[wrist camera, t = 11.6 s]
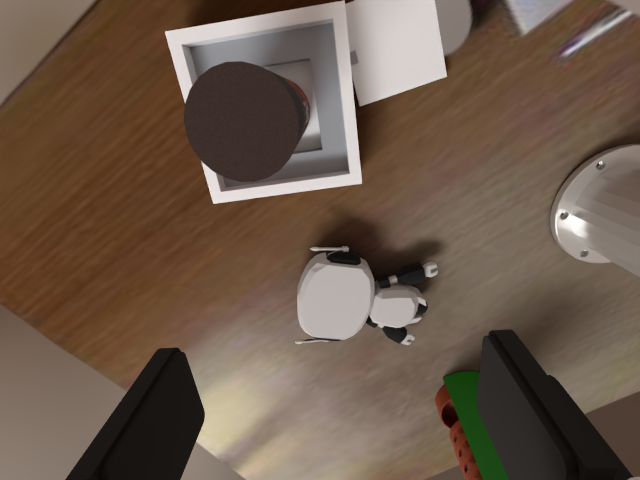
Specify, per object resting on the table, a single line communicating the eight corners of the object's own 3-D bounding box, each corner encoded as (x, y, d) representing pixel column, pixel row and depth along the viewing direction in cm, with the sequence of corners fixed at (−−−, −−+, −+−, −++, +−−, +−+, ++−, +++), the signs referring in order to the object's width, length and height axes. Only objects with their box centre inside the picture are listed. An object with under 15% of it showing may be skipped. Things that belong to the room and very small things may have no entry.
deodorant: (234, 95, 30) (160, 94, 17) (293, 65, 29) (265, 37, 16) (265, 155, 33) (221, 198, 19) (320, 129, 31) (317, 155, 18)
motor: (421, 387, 46) (486, 583, 27) (482, 358, 43) (597, 551, 25) (453, 429, 49) (531, 630, 30) (512, 405, 47) (633, 605, 28)
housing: (342, 12, 28) (344, 0, 25) (357, 173, 34) (362, 183, 30) (184, 39, 29) (164, 31, 26) (224, 192, 35) (213, 203, 31)
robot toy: (433, 248, 38) (304, 231, 36) (449, 267, 34) (305, 249, 32) (405, 332, 43) (290, 322, 41) (417, 358, 39) (289, 347, 37)
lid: (427, -26, 27) (430, -31, 26) (443, 76, 30) (447, 76, 29) (316, 17, 29) (316, 14, 28) (343, 111, 32) (343, 112, 31)
